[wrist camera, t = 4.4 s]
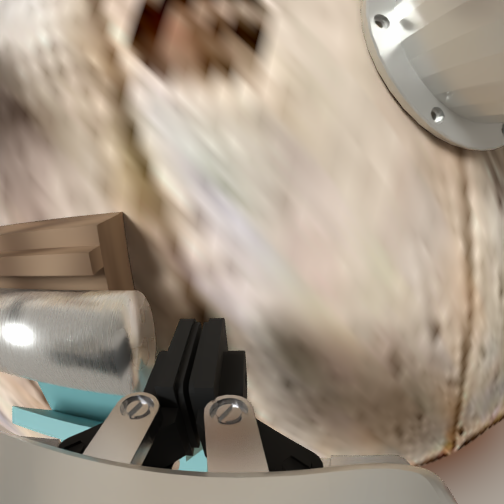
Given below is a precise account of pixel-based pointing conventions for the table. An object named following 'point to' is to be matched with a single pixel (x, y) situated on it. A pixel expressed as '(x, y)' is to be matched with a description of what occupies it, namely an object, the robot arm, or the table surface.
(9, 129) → the table surface
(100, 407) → the v block
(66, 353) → the axle
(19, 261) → the tan stepped block
